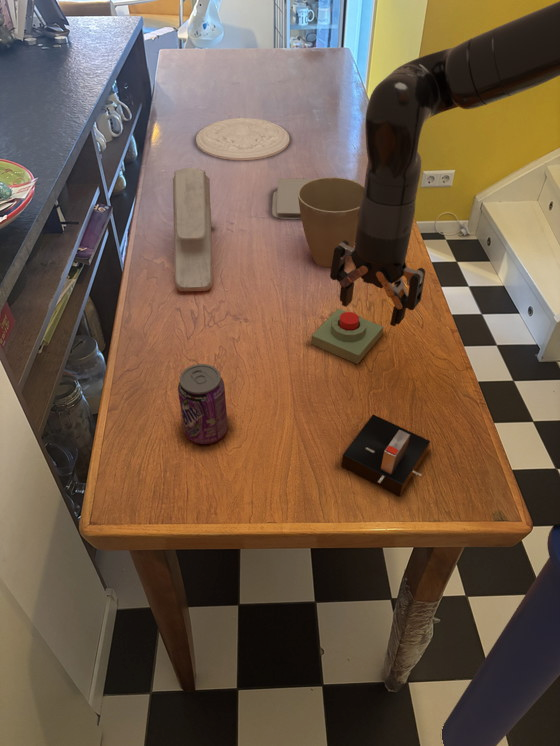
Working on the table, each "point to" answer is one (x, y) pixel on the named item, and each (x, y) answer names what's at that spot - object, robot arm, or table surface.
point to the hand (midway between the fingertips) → (370, 313)
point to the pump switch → (347, 337)
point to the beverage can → (203, 403)
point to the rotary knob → (395, 452)
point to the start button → (349, 321)
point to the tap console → (370, 450)
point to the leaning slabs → (192, 230)
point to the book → (288, 198)
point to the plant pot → (329, 215)
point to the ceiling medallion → (242, 139)
